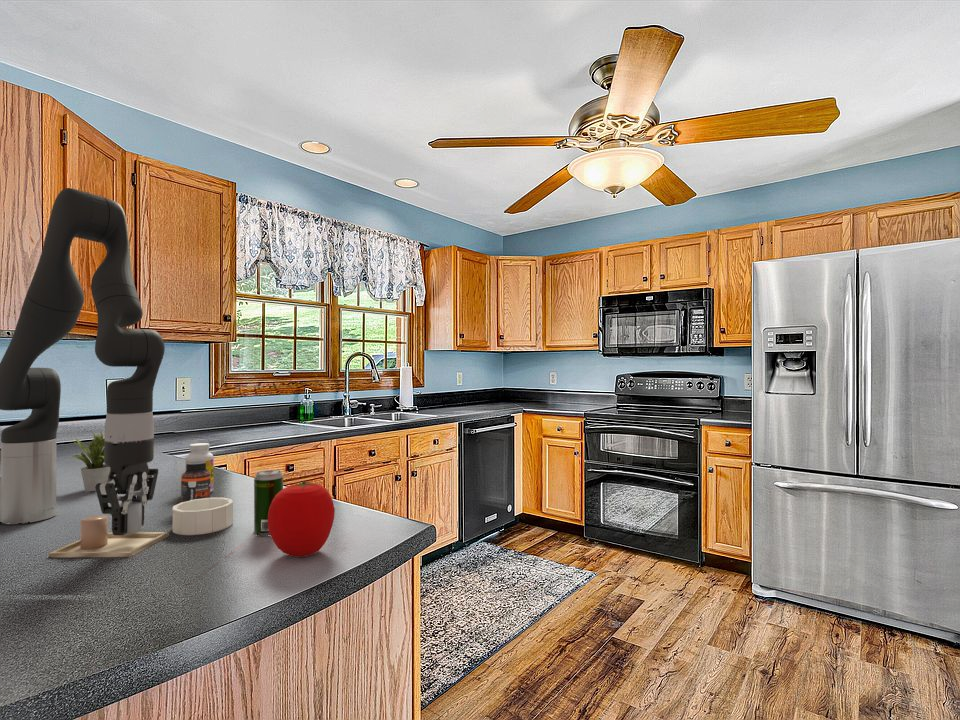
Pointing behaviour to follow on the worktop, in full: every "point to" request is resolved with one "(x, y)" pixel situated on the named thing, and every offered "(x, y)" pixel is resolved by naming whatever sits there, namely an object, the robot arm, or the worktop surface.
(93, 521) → the beige cylinder
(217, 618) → the worktop surface
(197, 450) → the supplement bottle
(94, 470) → the house plant
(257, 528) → the beer can
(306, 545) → the red round fruit
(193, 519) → the bowl
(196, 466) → the supplement bottle
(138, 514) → the gray metal cylinder
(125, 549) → the parts tray
